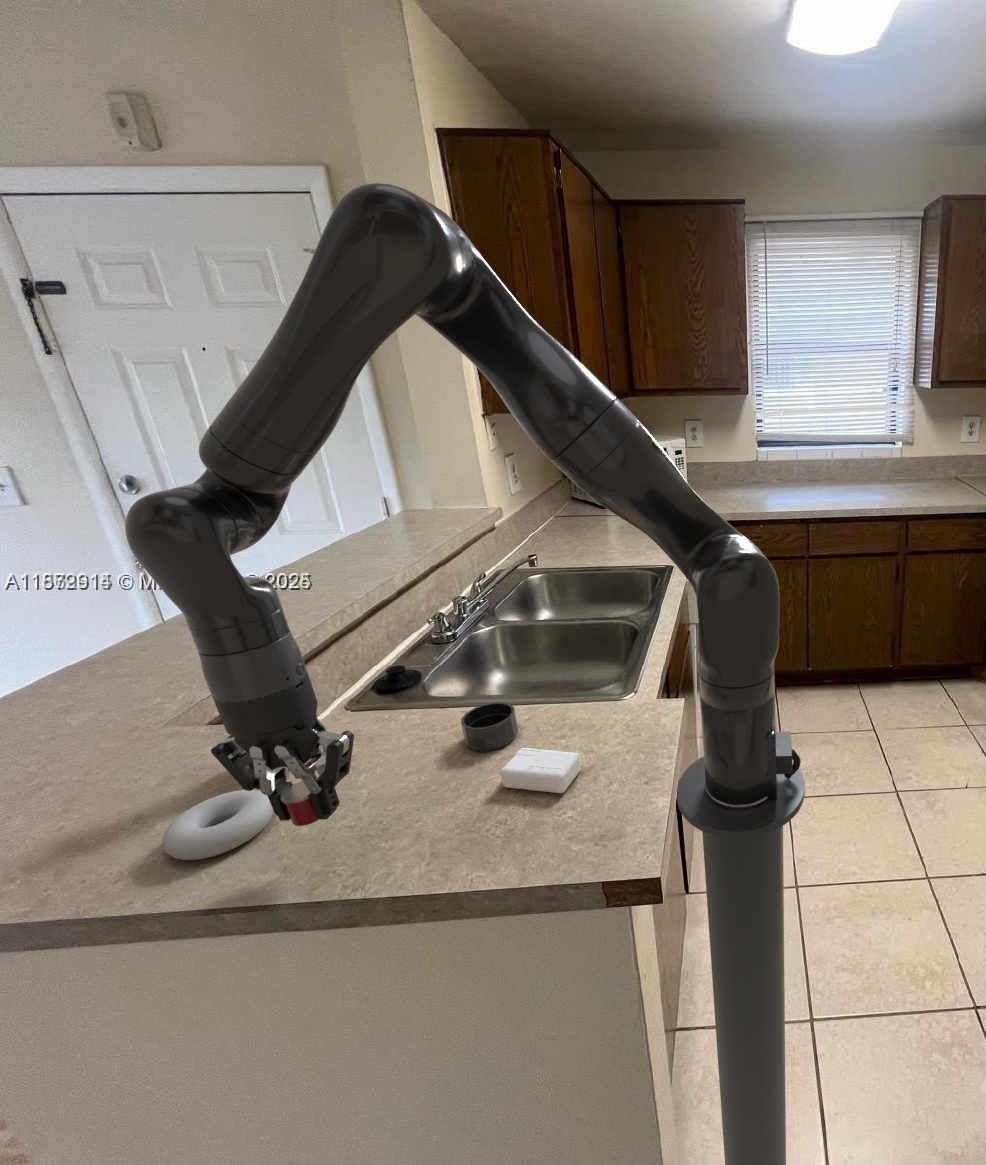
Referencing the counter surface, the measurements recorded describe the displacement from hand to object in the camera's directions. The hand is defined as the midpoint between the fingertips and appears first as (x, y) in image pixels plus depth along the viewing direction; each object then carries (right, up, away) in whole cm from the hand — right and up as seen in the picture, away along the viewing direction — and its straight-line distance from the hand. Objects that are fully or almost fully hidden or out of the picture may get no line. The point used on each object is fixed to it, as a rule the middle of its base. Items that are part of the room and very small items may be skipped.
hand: (310, 814), depth 66 cm
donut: (-14, -5, +5) cm, 16 cm away
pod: (0, 0, 0) cm, 0 cm away
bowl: (+9, +2, +23) cm, 25 cm away
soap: (+21, -1, +14) cm, 25 cm away
